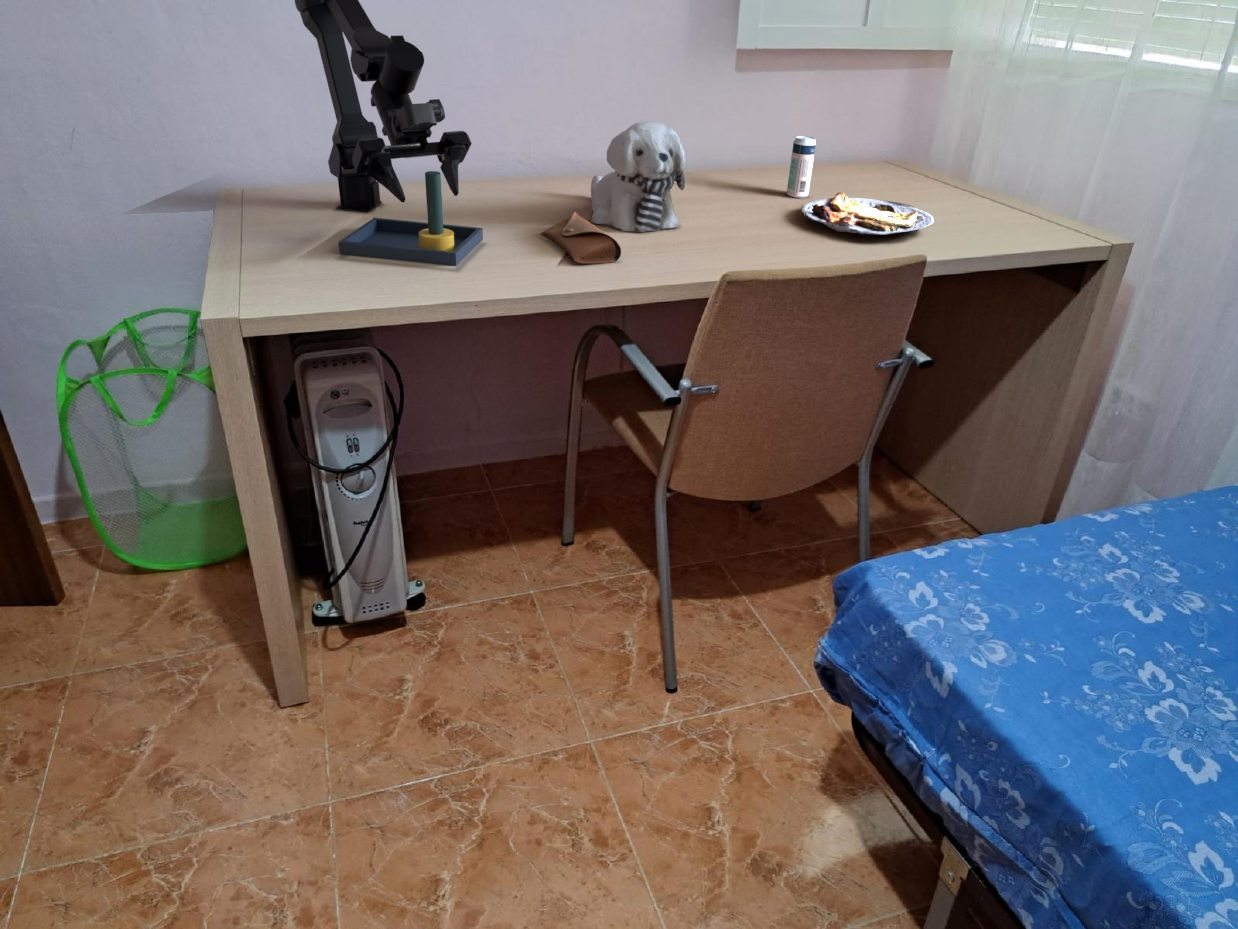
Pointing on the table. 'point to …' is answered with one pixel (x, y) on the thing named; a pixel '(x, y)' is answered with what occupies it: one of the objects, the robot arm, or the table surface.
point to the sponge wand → (435, 217)
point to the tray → (407, 242)
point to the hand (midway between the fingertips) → (430, 197)
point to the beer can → (801, 166)
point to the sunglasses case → (583, 241)
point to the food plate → (865, 215)
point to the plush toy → (640, 179)
